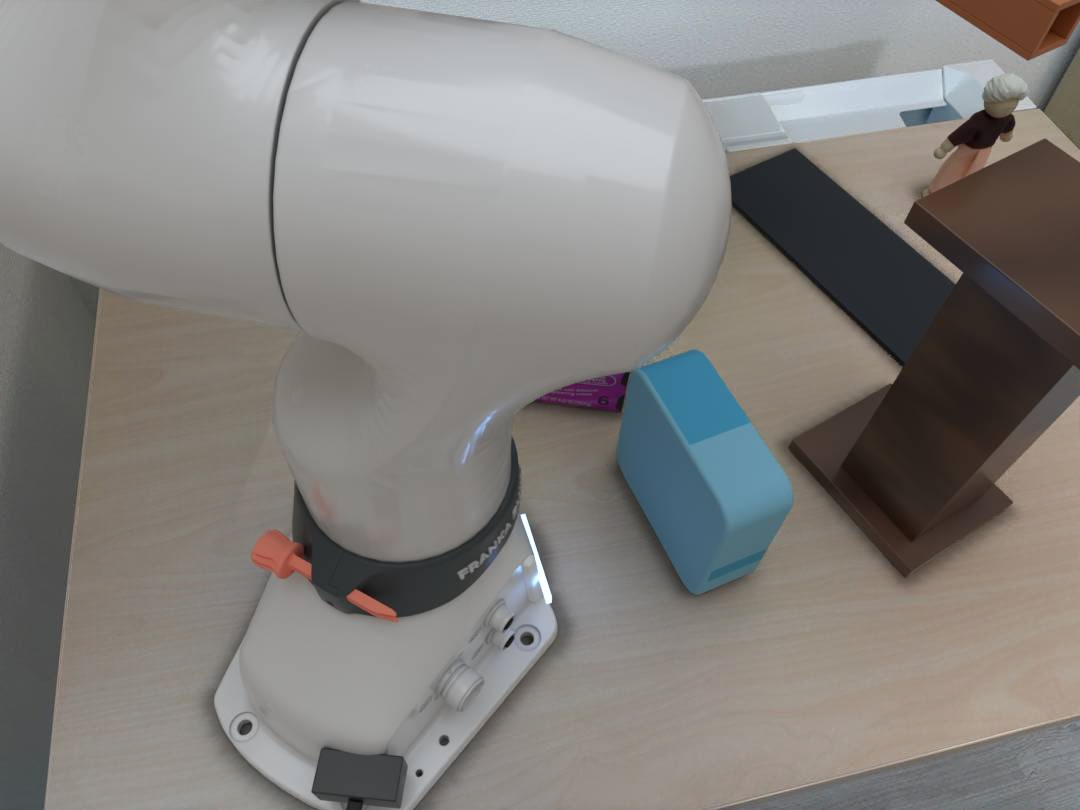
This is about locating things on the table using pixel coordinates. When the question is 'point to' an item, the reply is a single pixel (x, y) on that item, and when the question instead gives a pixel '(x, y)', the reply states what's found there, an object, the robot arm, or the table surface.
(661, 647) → the table surface
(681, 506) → the blue rounded case
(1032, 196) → the stand
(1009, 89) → the grandmother figurine
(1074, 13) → the terracotta beam
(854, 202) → the mat
